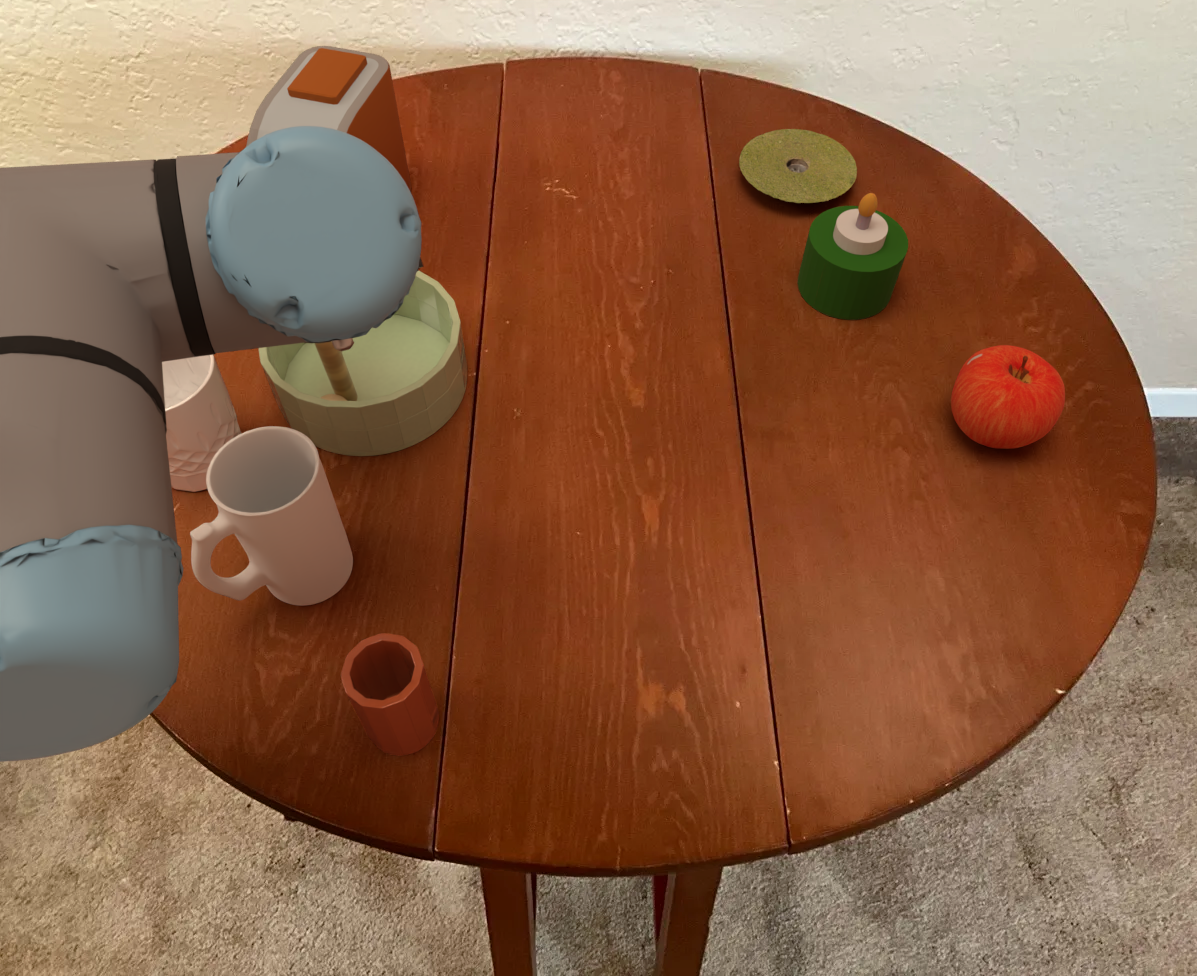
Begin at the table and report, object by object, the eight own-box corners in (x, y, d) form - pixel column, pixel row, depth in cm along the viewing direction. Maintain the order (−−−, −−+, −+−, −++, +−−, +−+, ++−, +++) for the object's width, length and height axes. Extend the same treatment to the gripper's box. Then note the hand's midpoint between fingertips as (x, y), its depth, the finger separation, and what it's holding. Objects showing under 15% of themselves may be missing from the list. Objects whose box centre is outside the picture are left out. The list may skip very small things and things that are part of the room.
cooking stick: (333, 397, 76) (265, 230, 61) (350, 386, 77) (287, 217, 61) (345, 410, 75) (279, 244, 60) (361, 398, 76) (301, 231, 60)
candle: (778, 282, 86) (798, 189, 78) (839, 241, 89) (865, 148, 81) (849, 334, 82) (878, 243, 74) (910, 290, 86) (945, 197, 77)
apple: (921, 434, 76) (953, 366, 70) (965, 373, 80) (999, 303, 73) (1016, 485, 74) (1058, 419, 67) (1057, 419, 77) (1101, 351, 71)
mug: (317, 511, 71) (274, 408, 62) (377, 564, 69) (342, 465, 59) (202, 601, 67) (136, 505, 57) (262, 661, 65) (203, 572, 55)
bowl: (239, 394, 78) (215, 343, 73) (373, 289, 85) (360, 236, 80) (374, 489, 73) (359, 440, 68) (505, 369, 80) (500, 317, 75)
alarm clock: (337, 165, 95) (303, 32, 83) (418, 180, 93) (395, 48, 82) (267, 265, 86) (220, 133, 75) (355, 284, 85) (320, 152, 74)
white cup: (221, 401, 77) (178, 311, 69) (274, 459, 74) (235, 373, 66) (130, 453, 74) (73, 366, 66) (181, 517, 71) (128, 434, 63)
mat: (874, 177, 94) (879, 160, 93) (811, 235, 89) (815, 218, 88) (779, 131, 99) (782, 114, 97) (713, 183, 94) (715, 167, 92)
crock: (352, 727, 62) (324, 676, 55) (402, 674, 64) (381, 619, 58) (404, 770, 60) (382, 723, 54) (454, 714, 63) (438, 662, 56)
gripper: (192, 384, 47) (222, 375, 70) (474, 297, 51) (417, 315, 73) (132, 232, 46) (183, 273, 68) (428, 153, 49) (384, 216, 71)
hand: (304, 295), depth 70 cm, fingers closed on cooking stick, 2 cm apart
